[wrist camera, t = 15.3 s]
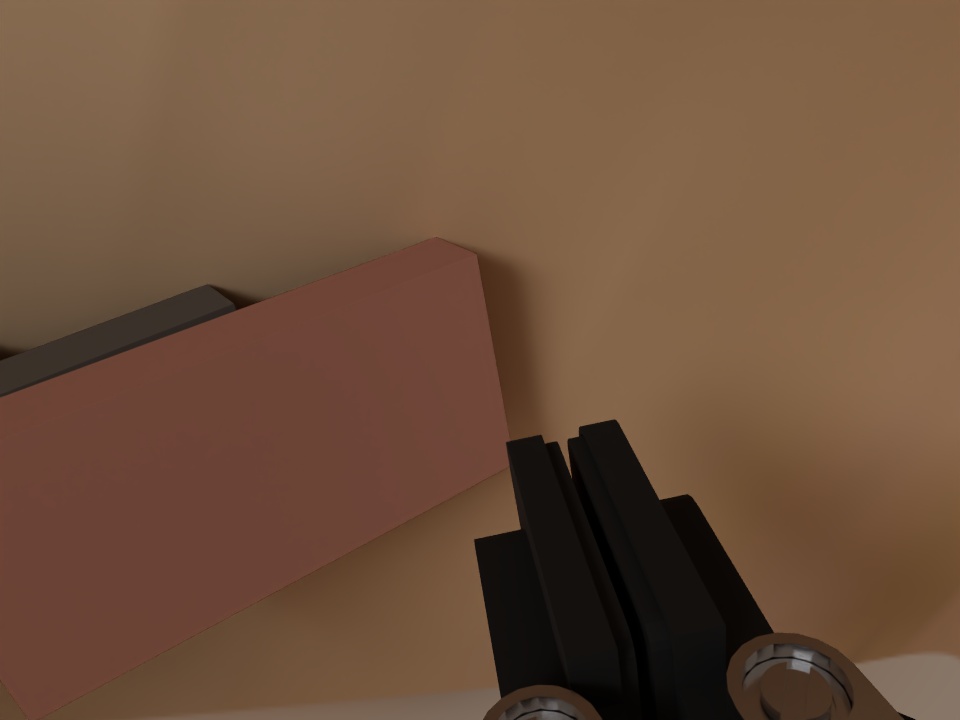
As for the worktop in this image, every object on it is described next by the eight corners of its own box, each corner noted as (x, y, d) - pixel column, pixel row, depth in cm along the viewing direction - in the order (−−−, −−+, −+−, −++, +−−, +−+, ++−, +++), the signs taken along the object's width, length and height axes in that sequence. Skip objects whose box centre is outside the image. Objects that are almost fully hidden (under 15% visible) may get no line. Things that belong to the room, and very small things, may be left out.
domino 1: (278, 477, 18) (-246, 747, 13) (207, 284, 15) (-461, 531, 11) (306, 508, 17) (-260, 817, 12) (233, 303, 14) (-506, 590, 10)
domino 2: (476, 434, 18) (25, 662, 14) (435, 236, 16) (-123, 442, 12) (514, 463, 17) (31, 723, 13) (476, 253, 14) (-134, 490, 10)
